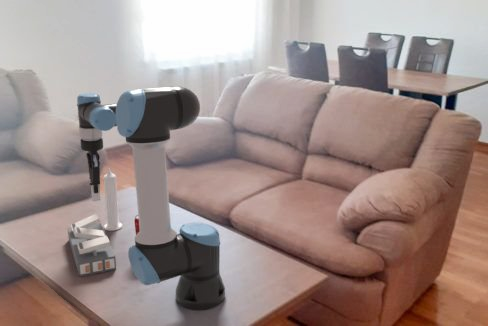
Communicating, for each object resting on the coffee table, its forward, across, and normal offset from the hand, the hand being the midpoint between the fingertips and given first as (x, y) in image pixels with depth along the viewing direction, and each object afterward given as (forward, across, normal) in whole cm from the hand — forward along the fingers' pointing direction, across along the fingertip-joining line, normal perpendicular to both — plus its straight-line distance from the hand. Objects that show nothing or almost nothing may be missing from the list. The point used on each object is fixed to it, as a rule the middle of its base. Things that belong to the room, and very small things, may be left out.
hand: (96, 200), depth 180 cm
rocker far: (+9, 0, +4) cm, 10 cm away
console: (+16, -9, +4) cm, 19 cm away
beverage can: (+17, -17, -13) cm, 27 cm away
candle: (+17, +10, -7) cm, 21 cm away
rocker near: (+8, -18, +4) cm, 21 cm away
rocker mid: (+8, -9, +4) cm, 13 cm away
